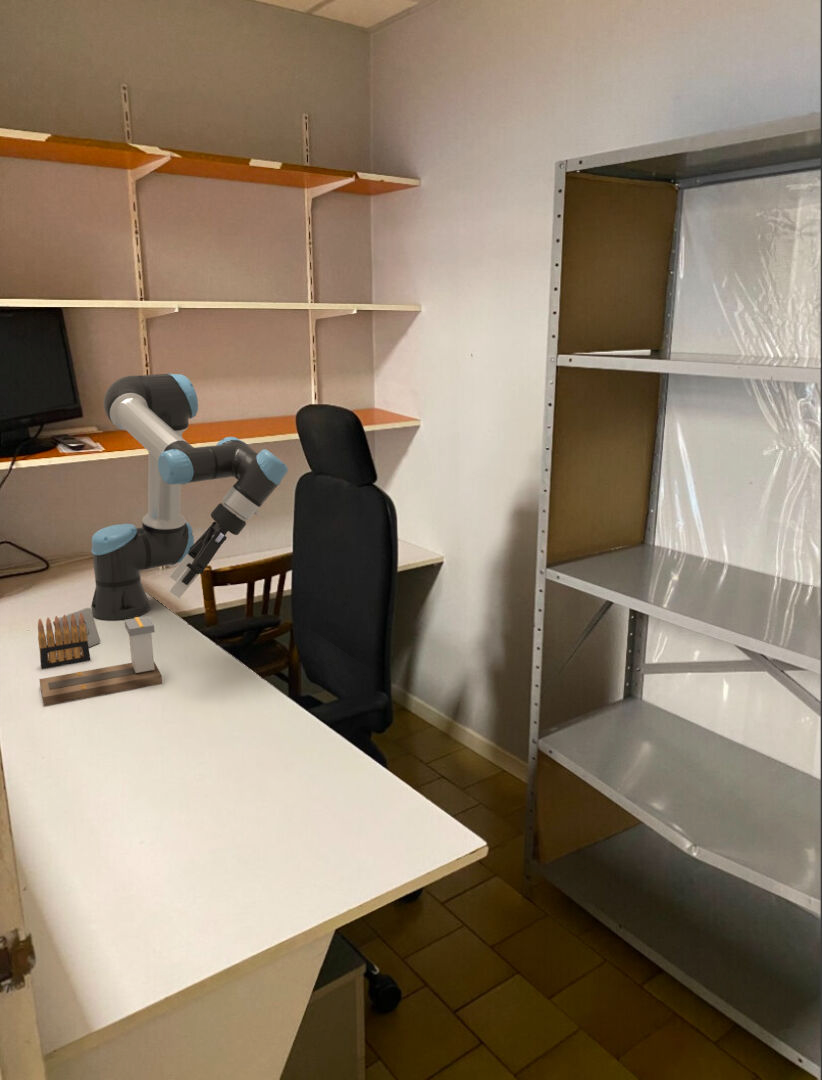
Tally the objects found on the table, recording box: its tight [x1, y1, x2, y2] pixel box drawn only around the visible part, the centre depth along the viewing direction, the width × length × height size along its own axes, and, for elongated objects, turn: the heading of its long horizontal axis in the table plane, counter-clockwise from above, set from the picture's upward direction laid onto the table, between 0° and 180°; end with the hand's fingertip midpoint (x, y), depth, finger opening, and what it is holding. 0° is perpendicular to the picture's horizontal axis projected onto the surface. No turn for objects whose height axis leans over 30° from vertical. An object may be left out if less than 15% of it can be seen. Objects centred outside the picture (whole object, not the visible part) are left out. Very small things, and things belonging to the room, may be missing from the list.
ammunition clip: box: [37, 612, 92, 670], centre depth 191 cm, size 11×2×12 cm, turn 119°
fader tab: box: [123, 616, 155, 673], centre depth 183 cm, size 5×6×11 cm
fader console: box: [39, 661, 163, 707], centre depth 180 cm, size 24×10×2 cm, turn 117°
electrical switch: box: [52, 607, 101, 653], centre depth 201 cm, size 9×5×9 cm, turn 152°
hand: (174, 587), depth 183 cm, fingers open, 13 cm apart
